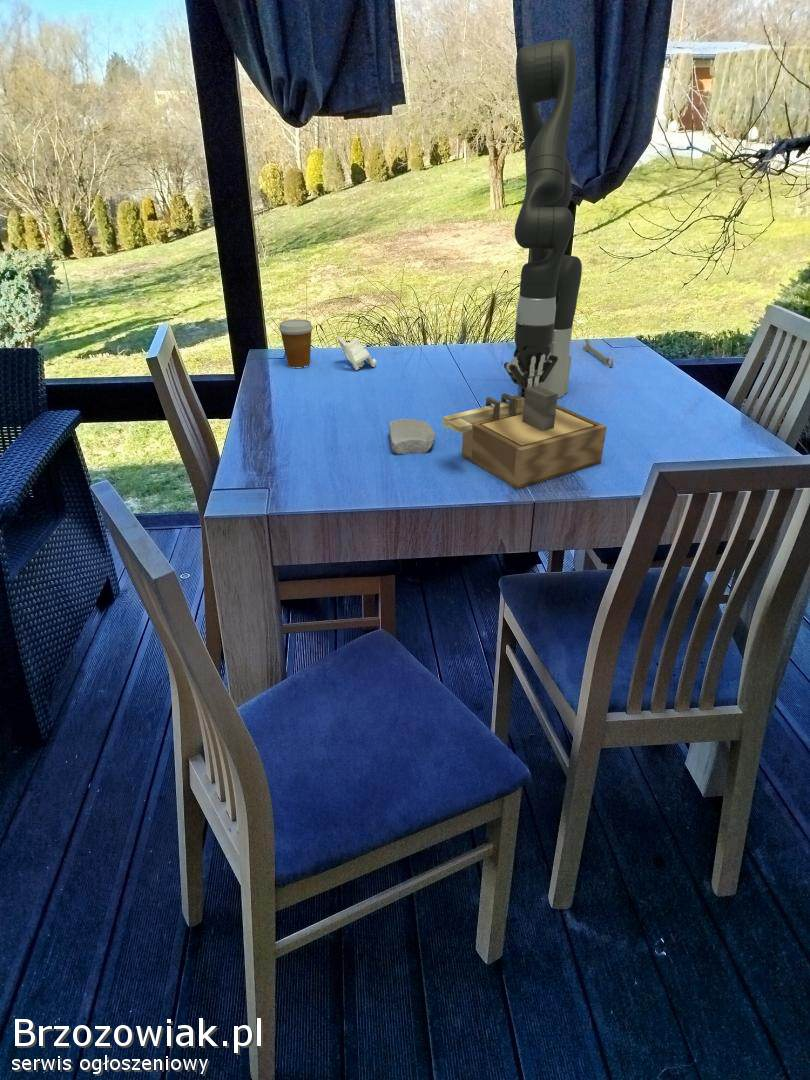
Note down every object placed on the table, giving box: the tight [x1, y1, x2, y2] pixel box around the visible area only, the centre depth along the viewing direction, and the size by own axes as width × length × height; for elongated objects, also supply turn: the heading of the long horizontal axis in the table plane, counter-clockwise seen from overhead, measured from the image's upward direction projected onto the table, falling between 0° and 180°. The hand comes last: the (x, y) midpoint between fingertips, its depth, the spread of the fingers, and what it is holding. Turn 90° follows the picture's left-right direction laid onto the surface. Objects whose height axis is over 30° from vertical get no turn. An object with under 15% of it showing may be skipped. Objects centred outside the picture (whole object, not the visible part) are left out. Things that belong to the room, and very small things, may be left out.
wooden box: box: [461, 393, 608, 490], centre depth 138 cm, size 22×18×12 cm
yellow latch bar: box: [442, 394, 524, 434], centre depth 137 cm, size 19×6×3 cm, turn 122°
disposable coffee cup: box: [278, 318, 314, 368], centre depth 193 cm, size 10×10×12 cm
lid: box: [482, 385, 594, 447], centre depth 134 cm, size 19×12×8 cm, turn 122°
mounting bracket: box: [336, 335, 378, 371], centre depth 194 cm, size 12×6×11 cm, turn 18°
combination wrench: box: [582, 338, 615, 368], centre depth 201 cm, size 4×1×20 cm
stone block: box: [388, 418, 436, 456], centre depth 148 cm, size 12×5×10 cm
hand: (527, 403), depth 143 cm, fingers closed
